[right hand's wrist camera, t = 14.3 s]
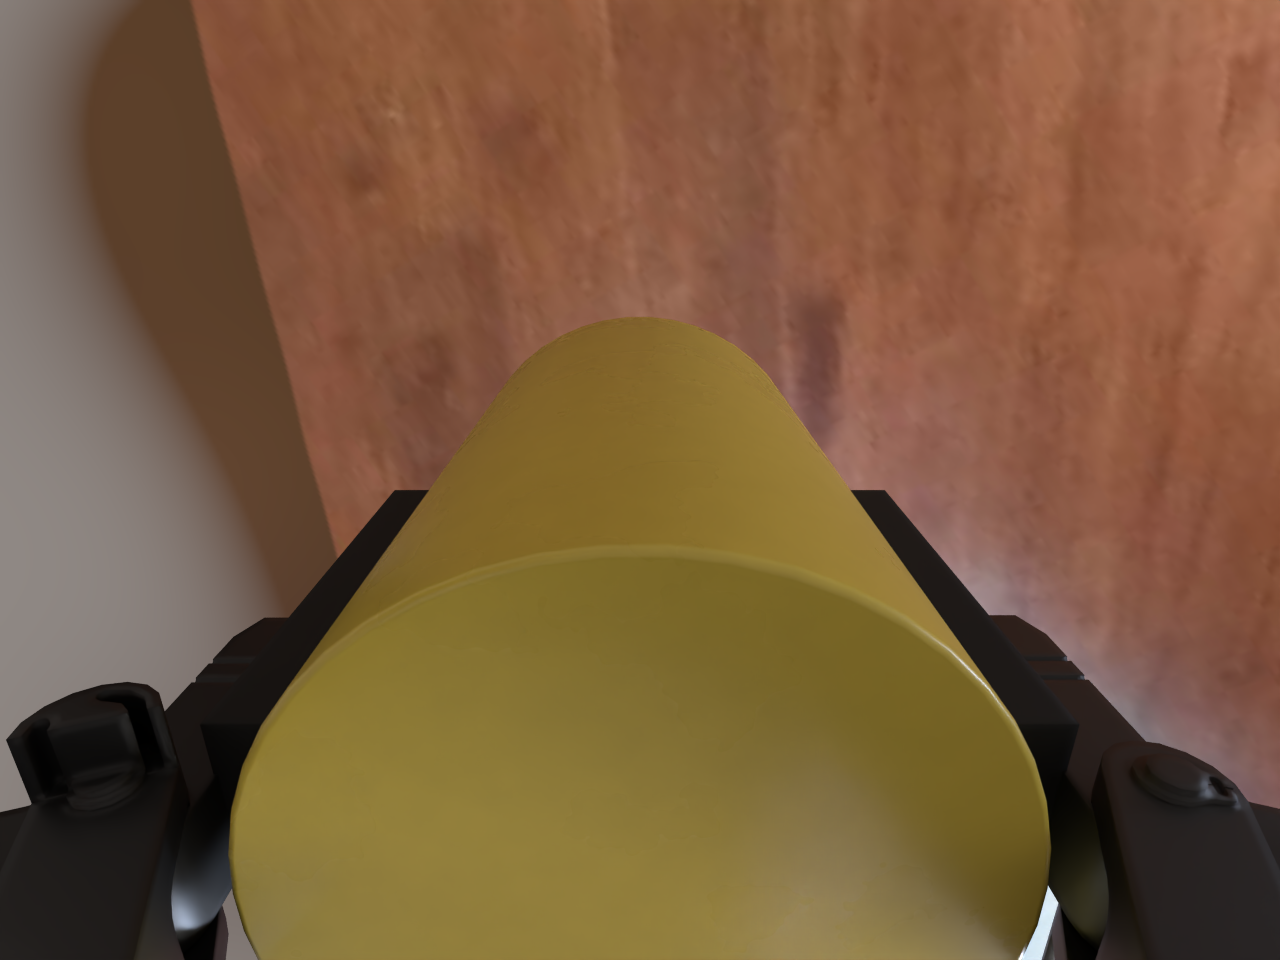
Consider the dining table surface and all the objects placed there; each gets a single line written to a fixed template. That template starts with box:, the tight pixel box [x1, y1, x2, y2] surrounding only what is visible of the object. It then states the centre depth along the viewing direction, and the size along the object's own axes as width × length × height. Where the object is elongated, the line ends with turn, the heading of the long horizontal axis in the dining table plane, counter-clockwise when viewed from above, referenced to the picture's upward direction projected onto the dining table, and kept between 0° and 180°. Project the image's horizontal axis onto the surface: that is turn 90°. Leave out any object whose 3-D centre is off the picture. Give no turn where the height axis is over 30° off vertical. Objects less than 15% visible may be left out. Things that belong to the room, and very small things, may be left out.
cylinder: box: [228, 317, 1051, 960], centre depth 12 cm, size 8×8×11 cm
